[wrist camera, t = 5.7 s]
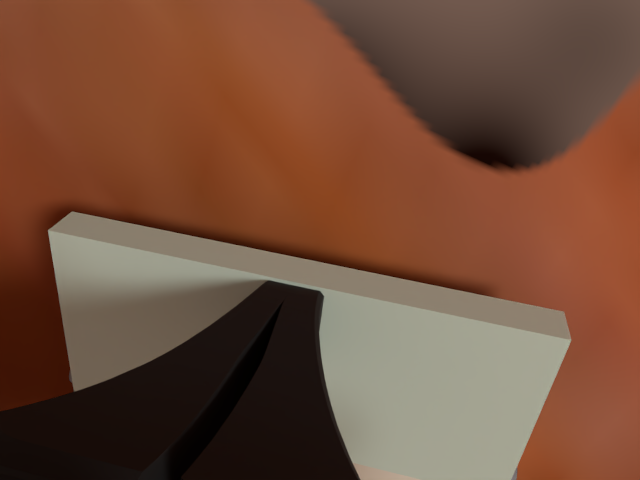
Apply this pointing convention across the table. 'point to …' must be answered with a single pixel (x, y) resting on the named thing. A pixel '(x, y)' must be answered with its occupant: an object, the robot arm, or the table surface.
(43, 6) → the table surface
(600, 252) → the table surface
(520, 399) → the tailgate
